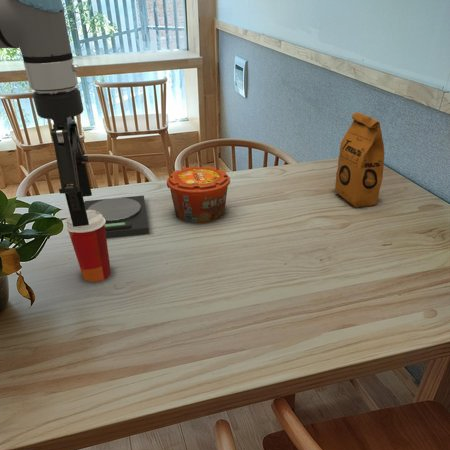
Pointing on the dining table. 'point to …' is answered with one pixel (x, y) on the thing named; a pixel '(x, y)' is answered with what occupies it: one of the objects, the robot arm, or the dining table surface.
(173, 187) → the food container
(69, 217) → the paper cup
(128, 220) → the scale
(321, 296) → the dining table surface
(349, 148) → the coffee package
